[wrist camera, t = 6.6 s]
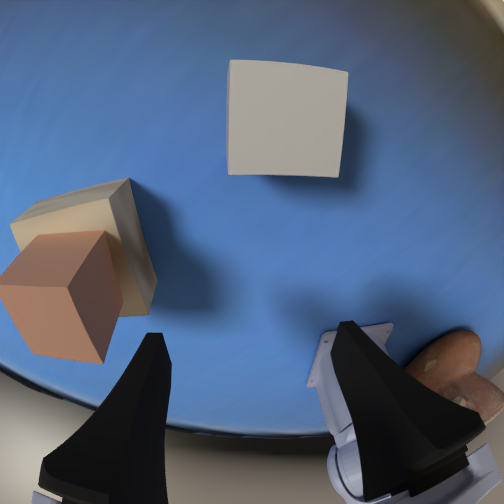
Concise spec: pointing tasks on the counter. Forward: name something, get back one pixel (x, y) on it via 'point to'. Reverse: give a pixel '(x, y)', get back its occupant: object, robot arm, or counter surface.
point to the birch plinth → (94, 219)
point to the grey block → (284, 119)
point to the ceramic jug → (458, 373)
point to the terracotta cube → (64, 295)
